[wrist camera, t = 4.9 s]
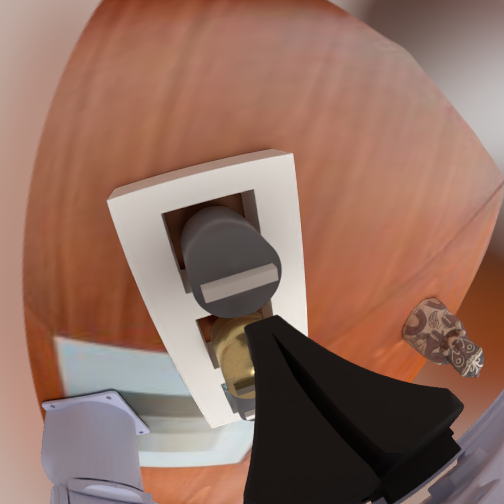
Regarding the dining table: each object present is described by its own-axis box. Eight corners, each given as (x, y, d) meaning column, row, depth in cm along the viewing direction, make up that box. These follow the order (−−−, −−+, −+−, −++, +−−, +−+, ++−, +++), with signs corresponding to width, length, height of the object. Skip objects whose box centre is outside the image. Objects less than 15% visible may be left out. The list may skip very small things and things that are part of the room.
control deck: (205, 405, 25) (212, 428, 23) (114, 188, 15) (106, 200, 12) (296, 373, 27) (309, 393, 25) (272, 148, 17) (292, 153, 15)
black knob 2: (229, 389, 25) (246, 430, 20) (220, 363, 23) (236, 409, 19) (269, 375, 26) (289, 414, 21) (263, 348, 24) (286, 390, 19)
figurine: (435, 286, 31) (501, 336, 20) (437, 314, 34) (492, 360, 24) (398, 323, 31) (463, 384, 20) (404, 347, 34) (457, 400, 24)
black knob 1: (190, 280, 16) (206, 335, 12) (172, 217, 14) (180, 257, 10) (254, 260, 17) (290, 307, 13) (243, 197, 15) (281, 228, 11)
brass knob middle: (217, 358, 20) (237, 411, 15) (203, 318, 18) (222, 375, 13) (268, 341, 20) (297, 389, 16) (261, 300, 19) (294, 349, 14)
